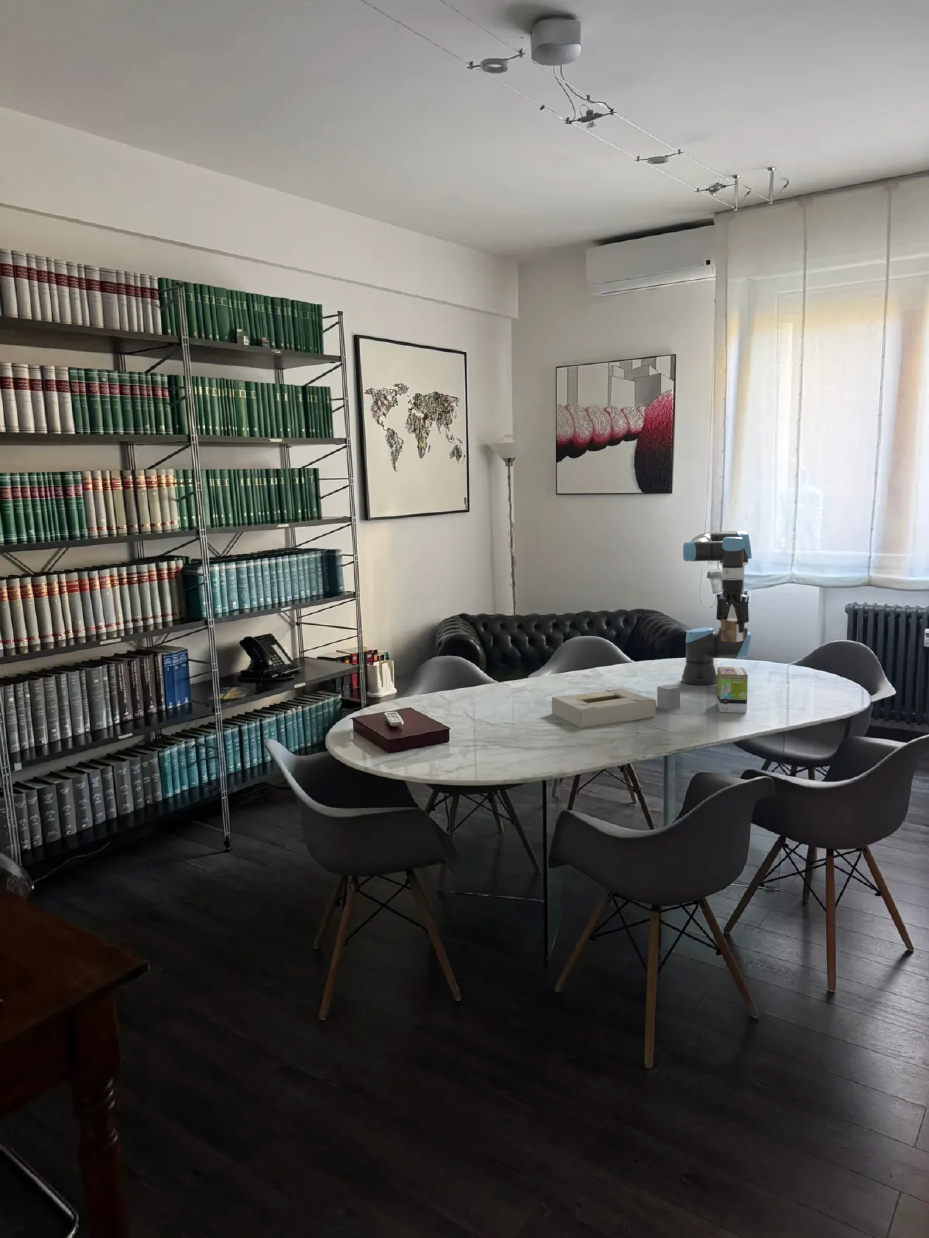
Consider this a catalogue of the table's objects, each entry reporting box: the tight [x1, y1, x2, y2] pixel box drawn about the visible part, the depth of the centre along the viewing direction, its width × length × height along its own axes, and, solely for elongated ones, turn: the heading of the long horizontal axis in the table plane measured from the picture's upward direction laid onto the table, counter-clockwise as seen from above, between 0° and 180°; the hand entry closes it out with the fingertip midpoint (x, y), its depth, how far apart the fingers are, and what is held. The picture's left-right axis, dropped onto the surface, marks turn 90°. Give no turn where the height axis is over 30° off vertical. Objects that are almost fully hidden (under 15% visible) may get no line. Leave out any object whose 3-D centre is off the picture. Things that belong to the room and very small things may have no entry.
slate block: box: [656, 684, 681, 710], centre depth 330 cm, size 6×6×8 cm
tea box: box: [716, 666, 749, 714], centre depth 324 cm, size 15×10×15 cm, turn 168°
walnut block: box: [720, 618, 746, 643], centre depth 321 cm, size 6×6×8 cm
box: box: [551, 687, 657, 729], centre depth 321 cm, size 23×8×32 cm
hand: (732, 639), depth 322 cm, fingers closed on walnut block, 6 cm apart
